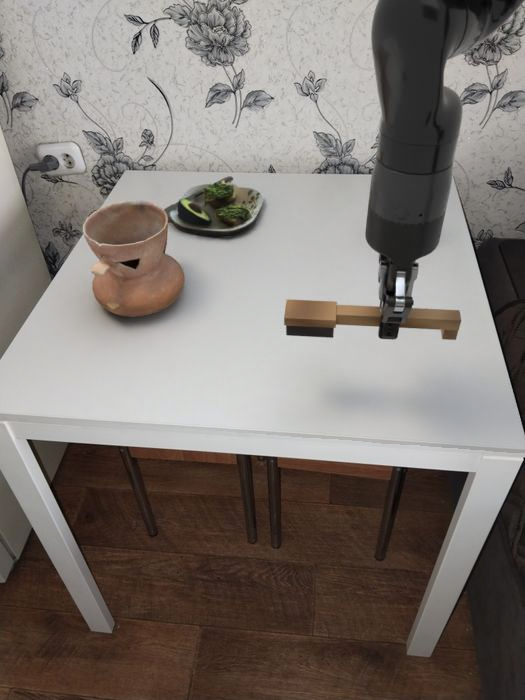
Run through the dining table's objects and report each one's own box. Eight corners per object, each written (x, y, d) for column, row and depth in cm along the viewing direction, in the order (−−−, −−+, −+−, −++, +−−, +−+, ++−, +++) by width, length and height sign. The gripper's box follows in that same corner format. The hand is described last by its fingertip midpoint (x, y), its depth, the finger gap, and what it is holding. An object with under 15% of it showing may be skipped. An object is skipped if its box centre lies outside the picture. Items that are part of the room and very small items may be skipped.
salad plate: (194, 179, 123) (192, 159, 120) (276, 190, 119) (276, 169, 115) (155, 229, 110) (150, 207, 107) (245, 243, 106) (243, 221, 102)
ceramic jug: (151, 342, 88) (133, 264, 78) (73, 316, 93) (47, 240, 83) (209, 274, 99) (200, 199, 90) (138, 255, 104) (122, 181, 94)
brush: (453, 325, 70) (458, 305, 68) (456, 345, 68) (462, 325, 66) (286, 317, 73) (286, 297, 70) (284, 336, 70) (283, 316, 68)
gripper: (455, 241, 52) (423, 374, 65) (440, 167, 62) (415, 295, 74) (369, 238, 53) (354, 370, 65) (368, 165, 63) (355, 292, 75)
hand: (387, 329), depth 70 cm, fingers closed on brush, 2 cm apart
